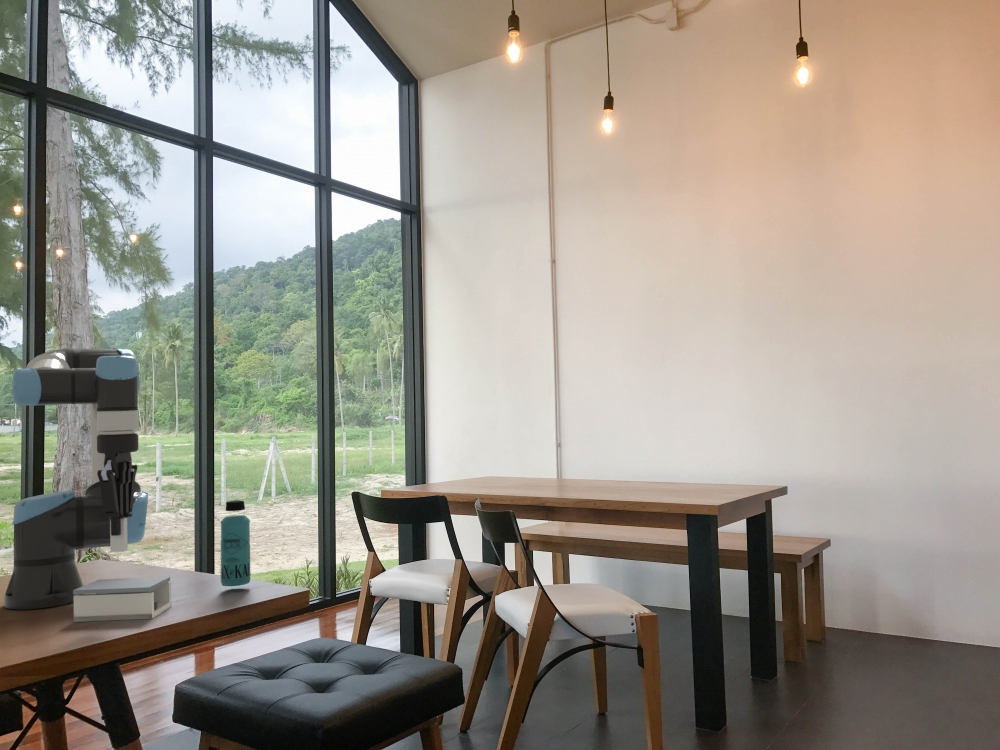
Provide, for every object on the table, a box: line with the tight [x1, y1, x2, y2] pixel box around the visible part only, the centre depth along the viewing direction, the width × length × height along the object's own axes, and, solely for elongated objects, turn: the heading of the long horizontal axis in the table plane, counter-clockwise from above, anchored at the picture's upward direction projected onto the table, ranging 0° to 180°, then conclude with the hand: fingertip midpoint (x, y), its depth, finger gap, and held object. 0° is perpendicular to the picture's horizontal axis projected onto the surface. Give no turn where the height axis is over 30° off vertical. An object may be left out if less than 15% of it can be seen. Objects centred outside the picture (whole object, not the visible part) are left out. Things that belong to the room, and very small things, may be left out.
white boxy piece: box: [73, 581, 172, 623], centre depth 160 cm, size 10×15×5 cm, turn 92°
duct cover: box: [73, 576, 171, 594], centre depth 159 cm, size 11×15×1 cm
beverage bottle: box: [219, 499, 252, 587], centre depth 179 cm, size 6×7×20 cm
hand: (118, 550), depth 158 cm, fingers closed
